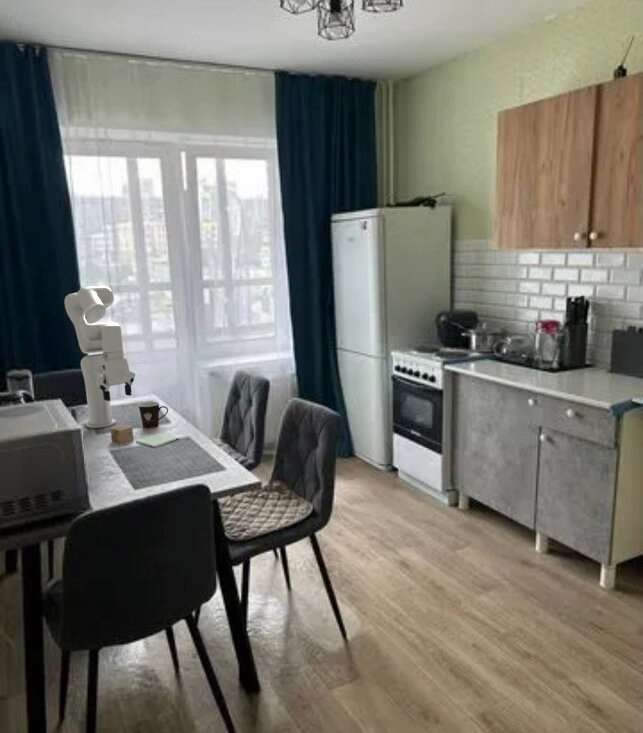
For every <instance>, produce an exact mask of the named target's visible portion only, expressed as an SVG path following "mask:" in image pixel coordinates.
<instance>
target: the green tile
mask: <svg viewBox="0 0 643 733" xmlns="http://www.w3.org/2000/svg"><path fill="white" fill-rule="evenodd" d="M176 439H178V440H180V437H179V436H176V435H172V434H167V433H162V432H159V433H155V434H151V435H148V436H145V437H143V438H140V439H137V440H135V443H136V442H137V444H140V443H141V445H144V444H145V445H144V446H147V447H151V446H152V448H159V447H160V446H163V445H167V444H169V442H170V443H172V442H171V441H173V442H175V441H177V440H176ZM174 440H175V441H174ZM166 443H167V444H166Z"/></svg>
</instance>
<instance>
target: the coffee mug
mask: <svg viewBox="0 0 643 733" xmlns="http://www.w3.org/2000/svg"><path fill="white" fill-rule="evenodd" d="M162 408H165V410H166V412H165V414H164V415H161V417H160V416H159V415H160V411H161V409H162ZM138 410H139V413H140V418H141V422H142V427H143V428H144V429H154V427H155V428H158V427H159V421H160V420H161V419H163V418H164V417H165V416H167V414H168V413H169V409H168V407H167V406H165V405H163V406H160V402H158V401H145V402H142V403H139V404H138ZM157 426H158V427H157Z"/></svg>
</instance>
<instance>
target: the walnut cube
mask: <svg viewBox="0 0 643 733" xmlns="http://www.w3.org/2000/svg"><path fill="white" fill-rule="evenodd" d="M110 436H111V443H112V442H114V443H113V444H116V443H118V444H117V445H120V444H122V445H125V444H128V443H131V442H133V440H134V432H133V426H131V425H127V424H121V425H117V426H114V427H110ZM130 441H131V442H130ZM127 442H128V443H127ZM124 443H125V444H124Z"/></svg>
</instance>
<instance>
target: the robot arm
mask: <svg viewBox="0 0 643 733" xmlns="http://www.w3.org/2000/svg"><path fill="white" fill-rule="evenodd" d="M114 301H115V297H114V293H113V291H112V289H111V288H110V287H109V286H107V285H98V286H85V287H82V288H80V289H79V290H78V291H77V292H73V293H69V294H67V295H66V296H65V298H64V308H65V311H66V313H67V315H68V317H69V320H70V321H71V322H72V324H73V326H74V329H75V333H76V337H77V340H78V345H79V348H80V351H81V352H82V353H83V354H89V355H86V356H83V357H82V358H81V360H80V367H81V372H82V375H83V379H84V386H85V392H86V393H85V394H86V402H87V410H88V413H87V415H86V418H87V419H88V421H87V422H86V423H85V424H86V427H87V428H90V429H100V428H106V427H111V426H113V425H116V423H117V420H116V418H113V416H112V414H113V412H112V406H111V394H110V393H111V391H110V387H112V386H117V385H122V384H125V385H124V393H125V395H126V396H132V385H133V382H134V381H135V377H136V373H135V372H132V371H130V368H129V364H128V363H129V362H128V359H127V357H125V354H124V346H123V344H124V343H123V337H122V327H121V325H120V324H119V323H118V322H115V321H106V322H105V321H104V322H103V321H102V322H99V321H100V320H101V319H103V318H104V317H105V316H106V315H107V309H108V308H109V307H111V306H112V305H113V303H114ZM96 353H97V354H96Z"/></svg>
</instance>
